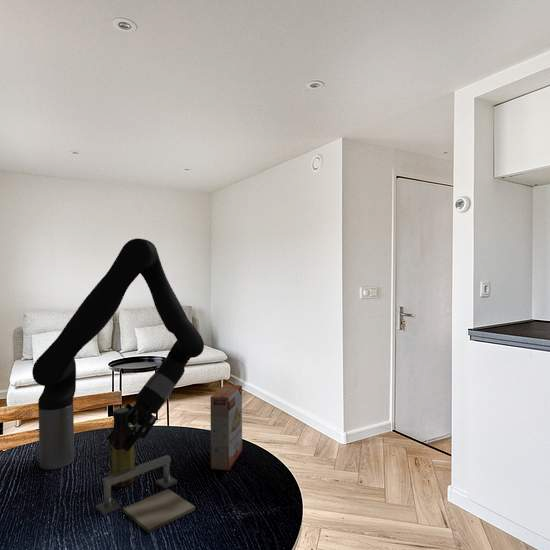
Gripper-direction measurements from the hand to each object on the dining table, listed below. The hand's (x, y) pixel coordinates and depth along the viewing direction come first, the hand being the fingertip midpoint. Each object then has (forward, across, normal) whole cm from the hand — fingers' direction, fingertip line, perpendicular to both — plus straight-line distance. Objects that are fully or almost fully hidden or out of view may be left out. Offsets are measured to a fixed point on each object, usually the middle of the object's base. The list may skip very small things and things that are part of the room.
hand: (117, 444), depth 111 cm
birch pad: (+7, +19, +8) cm, 22 cm away
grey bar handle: (+7, +9, +8) cm, 14 cm away
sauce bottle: (+7, 0, +9) cm, 11 cm away
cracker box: (-13, +10, +28) cm, 33 cm away
